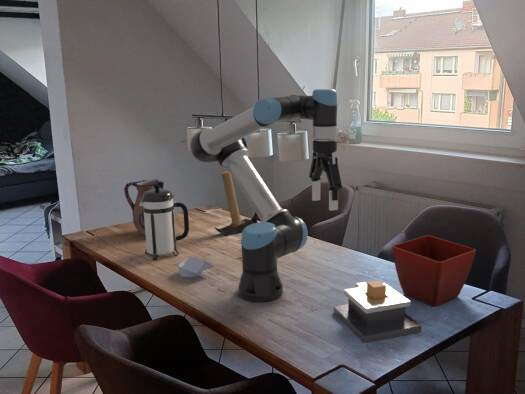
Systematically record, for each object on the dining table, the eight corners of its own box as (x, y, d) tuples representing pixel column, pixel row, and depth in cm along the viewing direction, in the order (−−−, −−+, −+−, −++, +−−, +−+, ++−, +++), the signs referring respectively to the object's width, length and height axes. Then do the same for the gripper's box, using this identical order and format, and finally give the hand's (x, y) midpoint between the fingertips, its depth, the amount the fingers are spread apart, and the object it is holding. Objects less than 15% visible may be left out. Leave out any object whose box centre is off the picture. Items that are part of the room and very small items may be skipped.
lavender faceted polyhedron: (215, 274, 196) (192, 266, 205) (214, 257, 195) (191, 250, 203) (197, 282, 190) (174, 273, 198) (196, 264, 188) (173, 256, 197)
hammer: (221, 241, 241) (207, 179, 231) (216, 238, 245) (202, 178, 235) (258, 226, 250) (246, 166, 240) (253, 224, 254) (241, 165, 244)
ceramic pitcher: (169, 238, 240) (165, 185, 234) (122, 240, 239) (118, 186, 233) (174, 227, 257) (171, 177, 251) (131, 228, 256) (127, 178, 250)
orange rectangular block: (372, 319, 154) (373, 287, 151) (366, 313, 157) (367, 282, 155) (385, 317, 155) (386, 285, 153) (378, 311, 159) (379, 280, 156)
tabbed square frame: (364, 342, 145) (365, 314, 143) (333, 312, 163) (333, 286, 161) (421, 331, 150) (422, 304, 148) (385, 303, 168) (385, 278, 166)
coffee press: (171, 262, 209) (166, 189, 202) (136, 258, 214) (130, 187, 207) (190, 248, 225) (186, 180, 218) (157, 245, 230) (152, 178, 223)
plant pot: (474, 297, 171) (477, 248, 167) (437, 314, 160) (440, 262, 156) (425, 280, 186) (428, 234, 182) (388, 294, 176) (390, 246, 172)
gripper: (353, 143, 155) (352, 213, 159) (319, 134, 178) (319, 195, 183) (330, 145, 152) (329, 215, 157) (299, 135, 176) (299, 197, 181)
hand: (324, 205), depth 170 cm, fingers open, 13 cm apart
